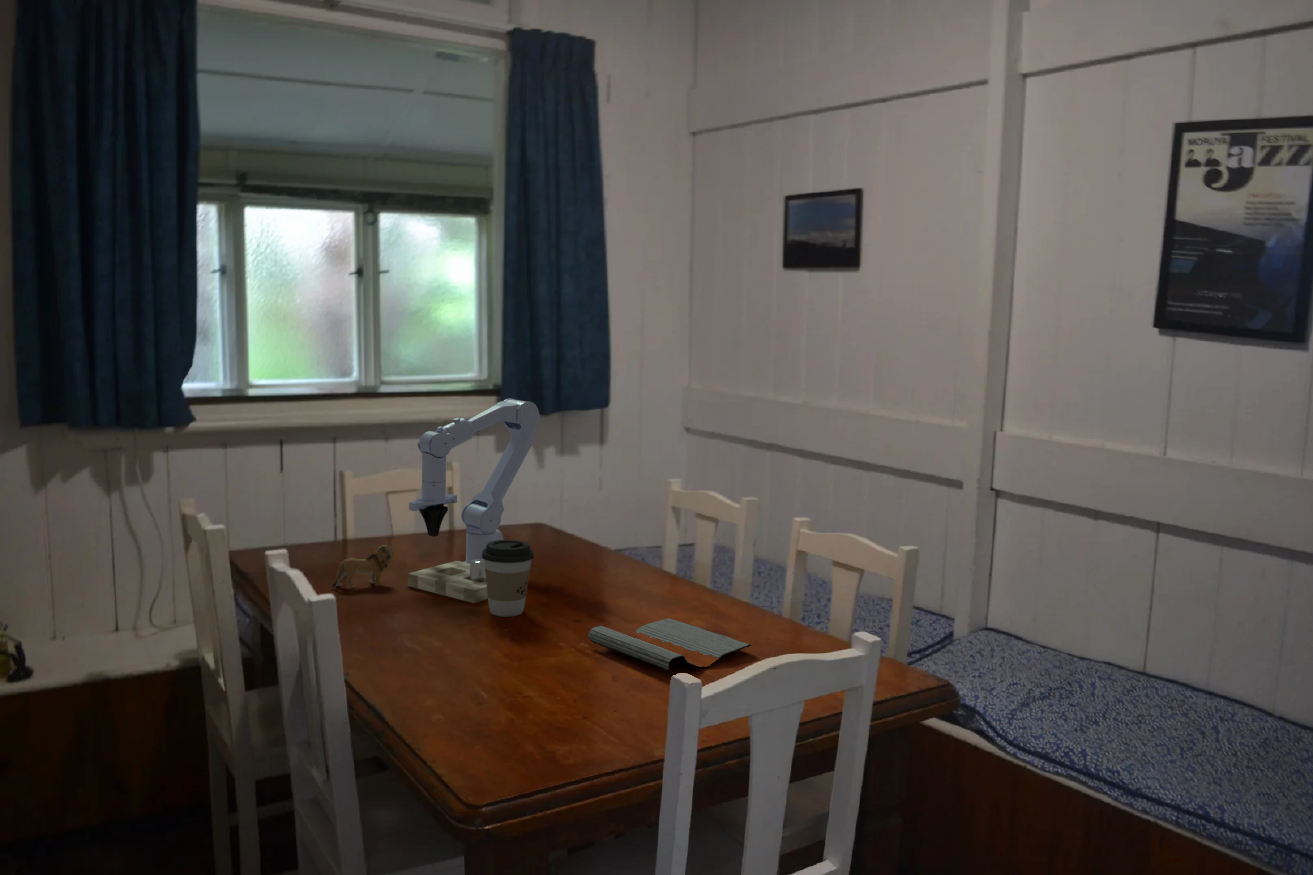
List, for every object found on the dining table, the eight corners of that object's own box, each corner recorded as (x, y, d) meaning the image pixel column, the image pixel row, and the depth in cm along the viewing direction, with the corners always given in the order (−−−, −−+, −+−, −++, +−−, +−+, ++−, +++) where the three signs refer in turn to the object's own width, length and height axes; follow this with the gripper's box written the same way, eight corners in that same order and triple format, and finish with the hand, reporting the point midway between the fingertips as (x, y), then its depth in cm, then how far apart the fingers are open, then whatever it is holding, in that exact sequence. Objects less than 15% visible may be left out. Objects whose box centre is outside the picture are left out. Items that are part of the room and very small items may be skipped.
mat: (753, 656, 198) (754, 633, 198) (667, 684, 182) (668, 659, 182) (671, 626, 215) (672, 605, 214) (586, 649, 199) (587, 626, 198)
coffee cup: (522, 622, 212) (524, 552, 210) (471, 616, 214) (473, 548, 213) (539, 606, 223) (541, 541, 221) (491, 601, 226) (492, 536, 224)
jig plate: (456, 572, 249) (456, 560, 248) (521, 588, 237) (521, 575, 237) (407, 585, 235) (408, 573, 235) (474, 603, 224) (474, 590, 224)
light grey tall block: (475, 587, 237) (476, 558, 236) (490, 589, 235) (490, 560, 234) (466, 591, 233) (466, 561, 232) (480, 593, 231) (481, 564, 231)
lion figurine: (387, 578, 241) (388, 541, 240) (396, 583, 237) (397, 546, 236) (327, 586, 232) (327, 548, 231) (335, 592, 228) (335, 553, 227)
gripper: (442, 475, 253) (441, 528, 254) (400, 482, 240) (399, 537, 242) (463, 478, 249) (462, 532, 251) (421, 486, 237) (420, 542, 238)
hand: (433, 535), depth 246 cm, fingers closed
